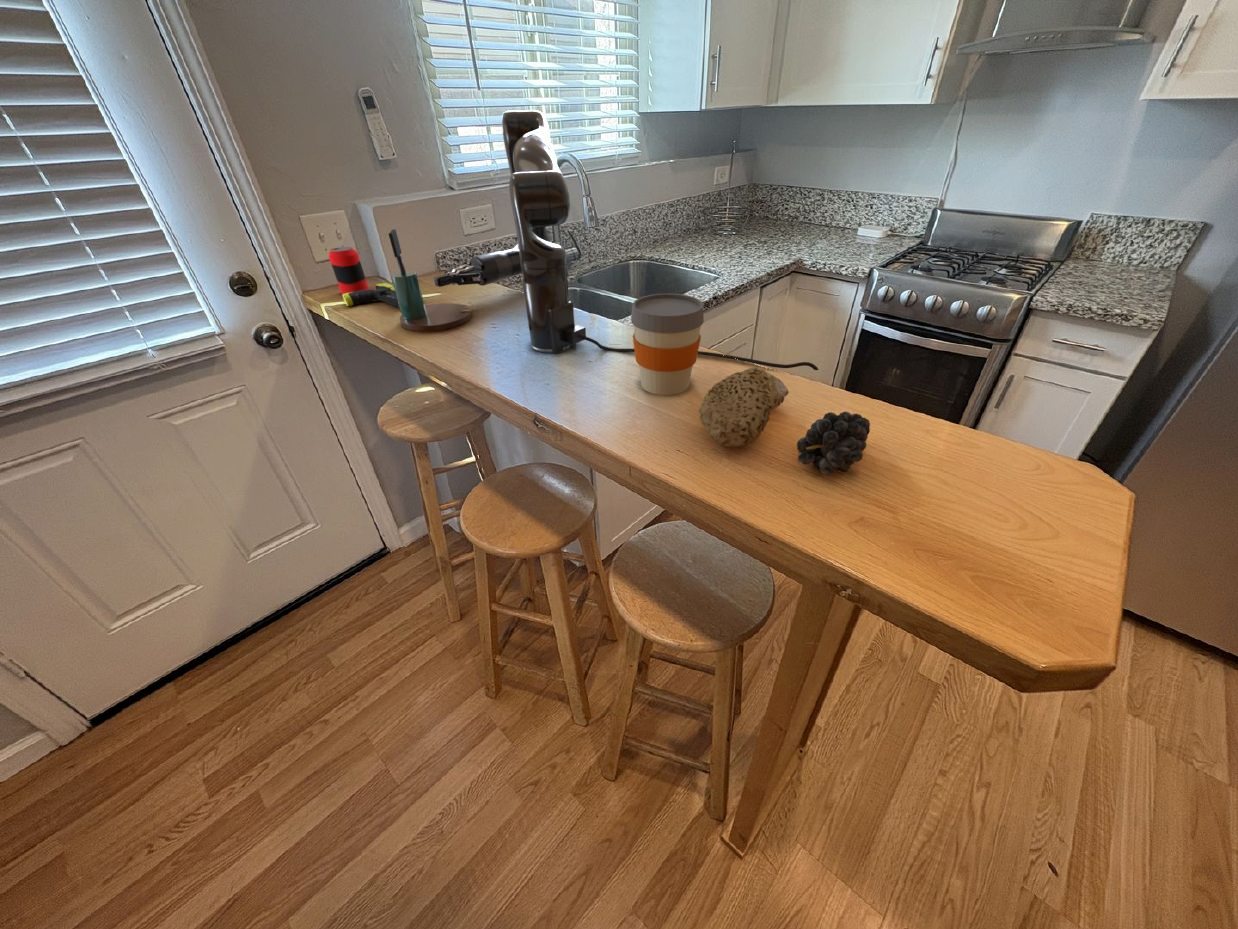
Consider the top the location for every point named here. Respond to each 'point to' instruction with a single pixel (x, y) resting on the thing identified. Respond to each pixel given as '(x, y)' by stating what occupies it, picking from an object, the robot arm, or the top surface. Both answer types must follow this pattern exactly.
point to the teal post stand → (421, 300)
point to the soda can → (348, 269)
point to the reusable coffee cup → (666, 340)
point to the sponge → (741, 406)
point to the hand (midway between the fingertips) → (436, 282)
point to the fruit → (834, 442)
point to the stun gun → (372, 295)
